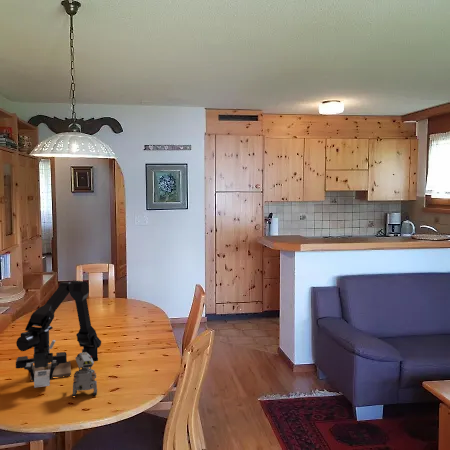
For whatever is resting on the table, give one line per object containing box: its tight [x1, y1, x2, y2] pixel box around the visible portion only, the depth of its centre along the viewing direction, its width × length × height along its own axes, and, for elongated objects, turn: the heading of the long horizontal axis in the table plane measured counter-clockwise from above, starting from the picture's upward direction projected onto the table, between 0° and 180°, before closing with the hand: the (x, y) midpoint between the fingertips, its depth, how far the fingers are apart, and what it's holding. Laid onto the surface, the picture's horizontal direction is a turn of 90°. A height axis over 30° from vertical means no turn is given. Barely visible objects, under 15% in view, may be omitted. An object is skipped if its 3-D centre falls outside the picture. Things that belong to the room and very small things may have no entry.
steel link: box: [33, 369, 51, 389], centre depth 175 cm, size 6×7×4 cm
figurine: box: [71, 351, 98, 397], centre depth 170 cm, size 9×12×15 cm
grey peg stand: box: [29, 361, 72, 381], centre depth 189 cm, size 16×14×8 cm
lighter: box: [49, 339, 57, 353], centre depth 208 cm, size 7×2×8 cm, turn 99°
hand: (42, 380), depth 175 cm, fingers closed on steel link, 6 cm apart
